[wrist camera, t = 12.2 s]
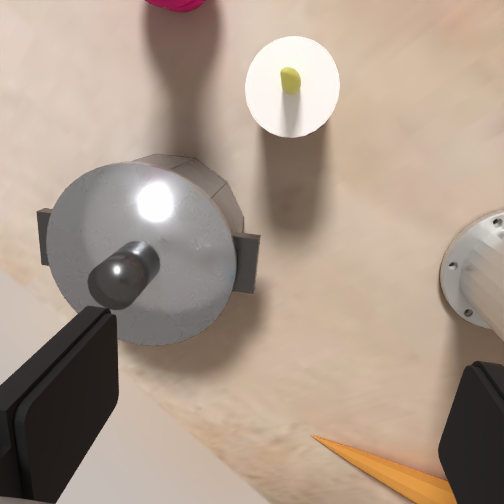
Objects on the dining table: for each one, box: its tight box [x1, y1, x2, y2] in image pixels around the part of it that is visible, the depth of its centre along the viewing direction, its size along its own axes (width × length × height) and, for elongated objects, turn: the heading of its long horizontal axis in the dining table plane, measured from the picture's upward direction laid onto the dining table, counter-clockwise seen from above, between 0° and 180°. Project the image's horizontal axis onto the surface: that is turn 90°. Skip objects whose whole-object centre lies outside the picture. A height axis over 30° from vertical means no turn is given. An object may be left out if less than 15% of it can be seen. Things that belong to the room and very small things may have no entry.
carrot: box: [310, 435, 457, 504], centre depth 48 cm, size 20×4×4 cm, turn 69°
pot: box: [37, 154, 261, 294], centre depth 38 cm, size 19×15×9 cm
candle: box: [245, 36, 340, 138], centre depth 29 cm, size 6×6×15 cm
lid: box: [46, 162, 237, 346], centre depth 31 cm, size 16×16×8 cm
